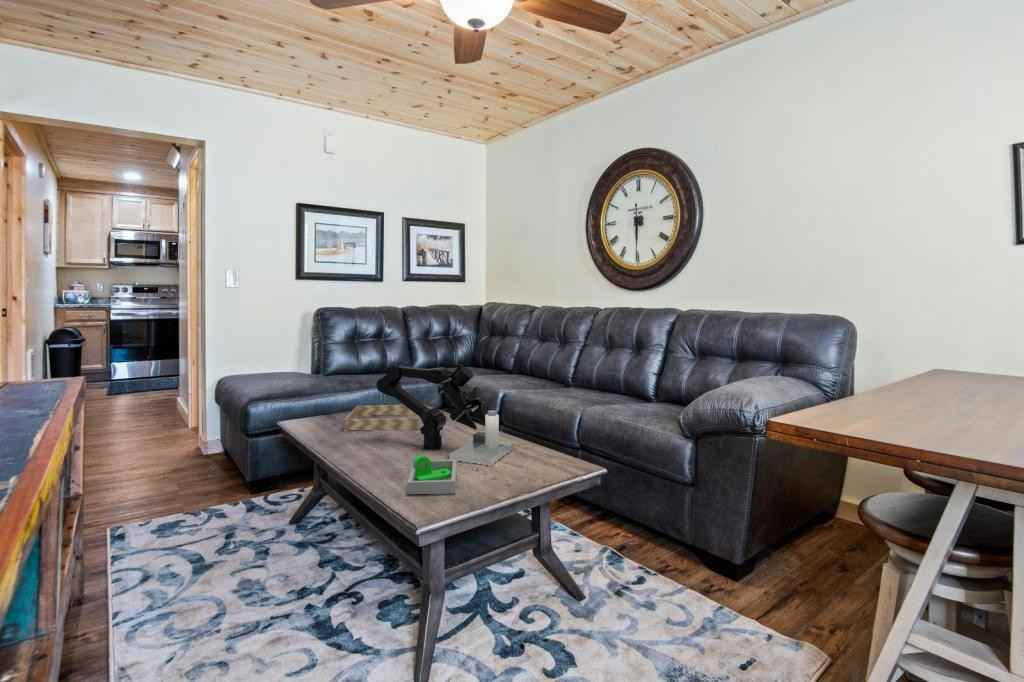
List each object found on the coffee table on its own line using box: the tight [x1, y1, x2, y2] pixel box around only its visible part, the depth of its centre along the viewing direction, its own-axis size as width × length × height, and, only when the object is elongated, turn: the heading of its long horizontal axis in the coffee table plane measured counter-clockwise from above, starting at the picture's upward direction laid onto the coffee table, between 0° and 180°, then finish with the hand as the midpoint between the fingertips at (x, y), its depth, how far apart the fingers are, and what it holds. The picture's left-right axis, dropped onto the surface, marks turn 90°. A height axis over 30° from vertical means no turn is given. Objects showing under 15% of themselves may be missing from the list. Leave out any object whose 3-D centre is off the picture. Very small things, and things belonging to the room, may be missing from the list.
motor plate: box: [449, 431, 515, 467], centre depth 201 cm, size 16×22×6 cm
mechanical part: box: [412, 454, 452, 481], centre depth 175 cm, size 12×6×8 cm, turn 121°
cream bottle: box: [484, 409, 500, 450], centre depth 199 cm, size 5×5×14 cm
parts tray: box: [406, 459, 458, 495], centre depth 172 cm, size 14×20×4 cm
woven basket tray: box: [343, 404, 422, 431], centre depth 248 cm, size 32×28×5 cm
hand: (481, 425), depth 200 cm, fingers open, 9 cm apart
